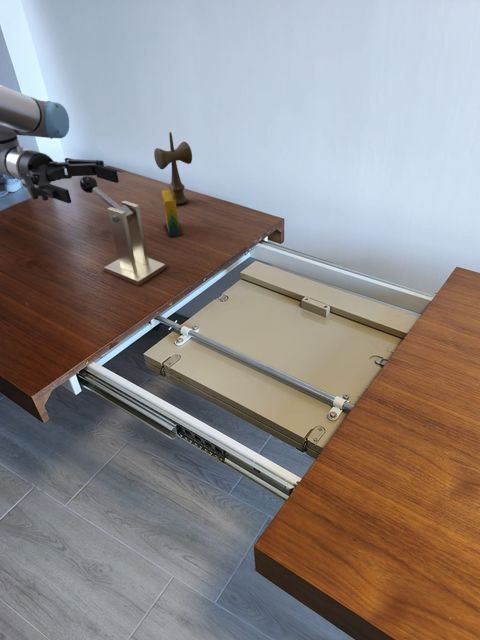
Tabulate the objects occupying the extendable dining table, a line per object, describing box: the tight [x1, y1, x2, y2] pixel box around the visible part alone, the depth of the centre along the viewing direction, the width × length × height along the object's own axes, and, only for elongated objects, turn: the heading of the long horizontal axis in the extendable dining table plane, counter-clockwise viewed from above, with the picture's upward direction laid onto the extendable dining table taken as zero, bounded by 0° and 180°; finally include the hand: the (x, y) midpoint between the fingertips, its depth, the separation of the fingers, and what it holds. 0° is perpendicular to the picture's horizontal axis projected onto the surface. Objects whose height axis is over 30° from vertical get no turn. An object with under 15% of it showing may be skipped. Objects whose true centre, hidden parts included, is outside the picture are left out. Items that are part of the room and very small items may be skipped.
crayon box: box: [161, 182, 181, 238], centre depth 124 cm, size 7×3×12 cm, turn 15°
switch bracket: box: [103, 200, 167, 286], centre depth 107 cm, size 11×9×16 cm
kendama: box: [153, 131, 193, 206], centre depth 135 cm, size 6×10×20 cm, turn 126°
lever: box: [79, 175, 134, 223], centre depth 104 cm, size 14×4×4 cm, turn 56°
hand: (93, 186), depth 104 cm, fingers open, 13 cm apart
